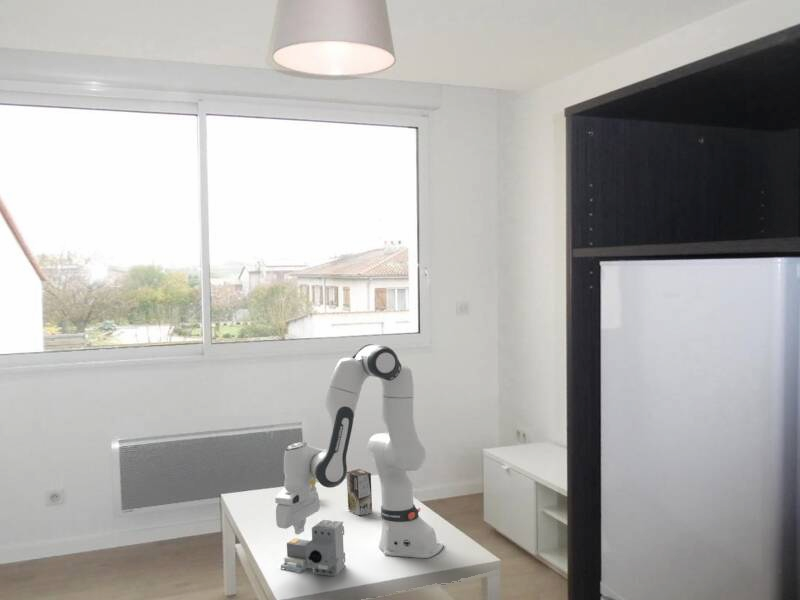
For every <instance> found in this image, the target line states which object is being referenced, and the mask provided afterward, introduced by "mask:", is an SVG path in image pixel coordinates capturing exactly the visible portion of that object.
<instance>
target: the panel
mask: <svg viewBox="0 0 800 600" xmlns="http://www.w3.org/2000/svg"><path fill="white" fill-rule="evenodd" d="M283 559H284V560H283V561H284V562H283V563H282V564H280V569H281V568H284V569H283V570H286V569H288V570H287V571H291V570H292V571H291V572H296V573H302V572H304V571H305V570H306V569H308V568H307V564H306V562H305V560H304V559H298V558H293V557H287V555H286V556H284V558H283Z"/></svg>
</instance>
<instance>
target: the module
mask: <svg viewBox="0 0 800 600" xmlns="http://www.w3.org/2000/svg"><path fill="white" fill-rule="evenodd" d="M310 541H311V540H306V539H300V538H294V537H293V538H292V539H291V540H290V541H288V542H286V553H287V554H286V556H287V557H293V558H298V559H304V560H305V562H306V544H307V543H308V542H310ZM306 564H307V563H306Z"/></svg>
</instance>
